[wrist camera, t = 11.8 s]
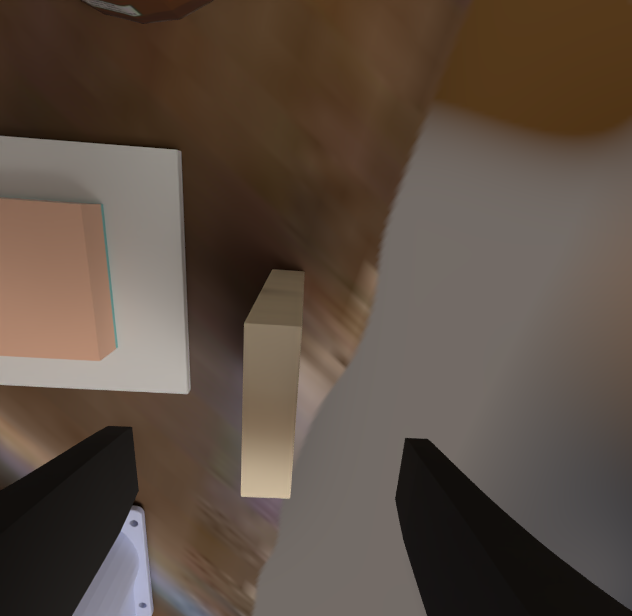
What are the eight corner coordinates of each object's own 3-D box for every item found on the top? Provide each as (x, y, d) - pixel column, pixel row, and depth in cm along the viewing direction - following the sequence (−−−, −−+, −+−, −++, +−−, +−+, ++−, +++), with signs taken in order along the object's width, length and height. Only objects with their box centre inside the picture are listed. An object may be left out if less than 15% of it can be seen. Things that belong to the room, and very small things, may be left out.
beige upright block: (297, 379, 19) (290, 498, 11) (267, 377, 19) (240, 496, 11) (304, 271, 17) (301, 326, 10) (272, 269, 17) (244, 322, 10)
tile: (100, 361, 16) (-57, 352, 16) (118, 347, 18) (-25, 339, 17) (80, 204, 14) (-100, 191, 14) (103, 204, 16) (-59, 192, 15)
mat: (190, 389, 19) (187, 393, 18) (-38, 377, 18) (-47, 382, 18) (181, 151, 15) (177, 149, 15) (-100, 129, 15) (-114, 126, 14)
